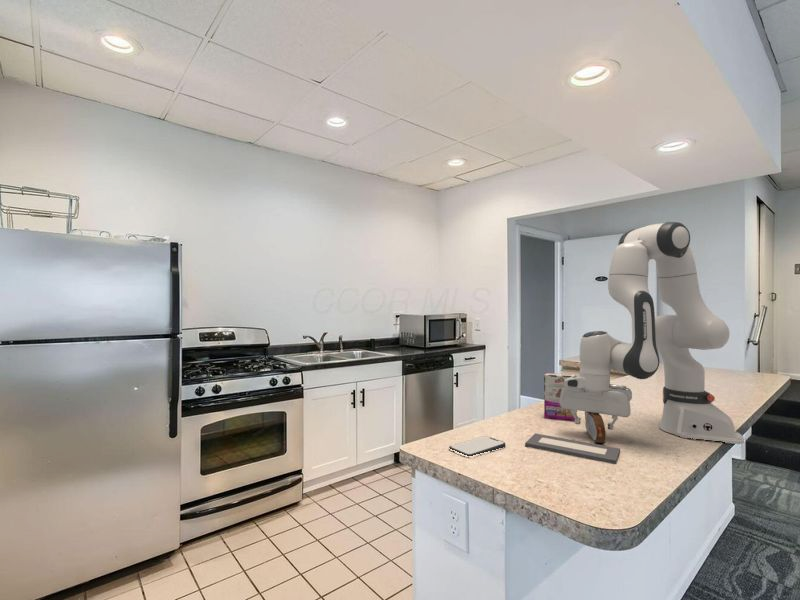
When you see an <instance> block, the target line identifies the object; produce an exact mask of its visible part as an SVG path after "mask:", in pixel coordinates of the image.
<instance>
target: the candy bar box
mask: <svg viewBox="0 0 800 600" xmlns="http://www.w3.org/2000/svg"><path fill="white" fill-rule="evenodd" d="M574 376H577V375H576V374H571V373H569V374H568V373H551V372H545V373H544V374H543V382H544V383H543V389H544V391H543V392H544V393H543V395H544V397H543V400H544V402H543V404H544V406H543V407H544V411H543V413H544V414H543V415H544V419H548V420H559V421H569V422H575V418H574V417H573V415H572V413H571V409H565V408H562V407H561V406H560V395H561V391H562V389H563V388H564V387H565V386H564V380H565V379H567V378H569V377H574ZM577 412H578V411H577ZM577 412H576V415H577V414H578V413H577ZM577 416H578V415H577Z"/></svg>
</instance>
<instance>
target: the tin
mask: <svg viewBox="0 0 800 600" xmlns="http://www.w3.org/2000/svg"><path fill="white" fill-rule="evenodd" d="M584 420H585V422H584V424H585V429H586V432H587V434H588V436H589V437H590V439H592V441H593V442H594V444H605V443H606V438H607V435H606V426H605V422H604V419H603V416H602V414H599V413H592V412H586V411H584Z"/></svg>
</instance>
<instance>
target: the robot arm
mask: <svg viewBox="0 0 800 600" xmlns="http://www.w3.org/2000/svg"><path fill="white" fill-rule="evenodd" d="M690 243H691V234H690V231H689V229H688V228H687V226H686V225H684V224H683V223H682V222H679V221H678V222H677V221H666V222H662V223H654V224H648V225H647V226H642V227H640V228H639V227H638V228H634V229H631V230H628V231H626V232H625V233H623V234H622V235H621V237H620V238H619V240H618V243H617V246H616V248H614V251H613V254H612V258H611V261H610V266H609V272H608V281H607V287H608V294H609V295H610V298H612V300H614V301H615V302H616V303H618V304H619V305H621V306H623V307H624V308H625V309H627V310H628V312H629V314H630V315H631V316H630V317H631V335H632V339H631V343H628V342H623V341H621V340H619V339H616V338H615V337H613V336H612V335H610V334H609V333H608V331H602V330H597V331H589V332H585V333H584V334H583V335H582V337H581V339H580V343H579V344H580V345H579V362H580V367H579V371H578V372H579V373H578V375H576V376H574V377H569V378H567V379H565V380H564V386H565V387H564V388H563V389H562V391H561V395H560V406H561V407H562V408H565V409H571V413H572V415H573V417H574V418H575V421H574V425H581V423H582V421H581V419H582V418H581V417H578V415H576V412H578V411H579V412H585V411H586V412H592V413H599V414H600V415H606V416H611V419H612V421H611V422H607V430H609V431H613V430H614V424H615V423H616V422H617V421H618V418H619V417H622V418H628V417H630V416H631V411H632V410H631V400H632V399H633V391H632V390H631V389H630V388H629V387H628V386H626V385H618V384H617V385H616V384H611V371H613V372H616V373H620V374H623V375H628V376H630V377H632V378H636V379H638V380H647V379H649V378H652V376H653V375H654V374H655V373H657V371H658V370H659V367H660V357H661V359H662V364H663V369H664V370H663V372H664V386H663V389H662V403H663V409H662V413H661V414H662V415H661V420H660V422H659V425H658V428H659V429H660V430H662V431H664V432H666V433H669V434H672V435H675V436H677V437H679V436H680V438H682V439H687V438H691V439H690V440H696V439H704V440H703V441H705V440H715V441H723V442H725V444H733V445H741V444H742V445H743V444H744V442H745V439H744V436H743V435H742V434H741V433H740V432H738V431H736V428H735V424H734V421H733V419H732V418H731V417H730V416H729V415H728V414H727V413H726V412H724V411H723V410H721V408H719V407H718V406H716V405H714V404H713V402H714V401H716V397H715V396H714V395H713V394H711V393H710V392H709V391H707V390H705V374H706V373H705V367H704V366H703V365H702V363H700V362H699V361H697V360H696V359H695V358H694V357H693V356H692V354H691V353H690V352H691V351H690V349H692V350H701V351H702V350H703V351H706V350H707V351H709V350H717V349H721V348H723V347H724V346H726V344H727V343H728V341H729V339H730V329H729V325H727V323H726V322H725V321H724V320H722V318H720V317H718V316H717V315H715V313H713V312H712V311H711V310H710V309H709V308H708V306H707V305H706V303H705V301H704V299H703V298H702V294H701V289H700V285H699V280H698V273H697V272H698V271H697V266H696V262H695V258H694V256H693V255H694V254H693V252H692V250H691V248H690ZM650 260H654V261H655V263H656V264H655V265H656V279H657V285H658V291H659V298H660V300H661V301H662V302H663V303H664V304H666V305H668V306H669V307H671V309H672V310H673V311H674V313H675V314H663V315H658V316H656V315H655V314H656V313H655V304H654V299H653V296H652V295H651V294H650V291H649V285H648V283H649V262H650ZM659 355H660V356H659ZM692 438H693V439H692Z"/></svg>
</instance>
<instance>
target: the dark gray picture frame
mask: <svg viewBox="0 0 800 600" xmlns="http://www.w3.org/2000/svg"><path fill="white" fill-rule="evenodd" d="M524 447H527V448H530V449H531V448H532V449H537V450H542V451H546V452H550V453H551V452H552V453H556V454H557V453H558V454H562V455H567V456H570V457H571V456H572V457H577V458H583V459H587V460H591V461H592V460H593V461H597V462H603V463H608V464H613V465H617V462H618V459H619V456H620V453H621V448H620V447H613V446H608V445H602V444H599V443H592V442H591V443H590V442H587V441H586V442H585V441H582V440H581V441H580V440H574V439H568V438H564V437H557V436H554V435H553V436H552V435H548V434H541V433H536V432H535V433H534V434H533V435H532V436H531V437H529V439H527V440H526V441H525V443H524Z"/></svg>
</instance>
